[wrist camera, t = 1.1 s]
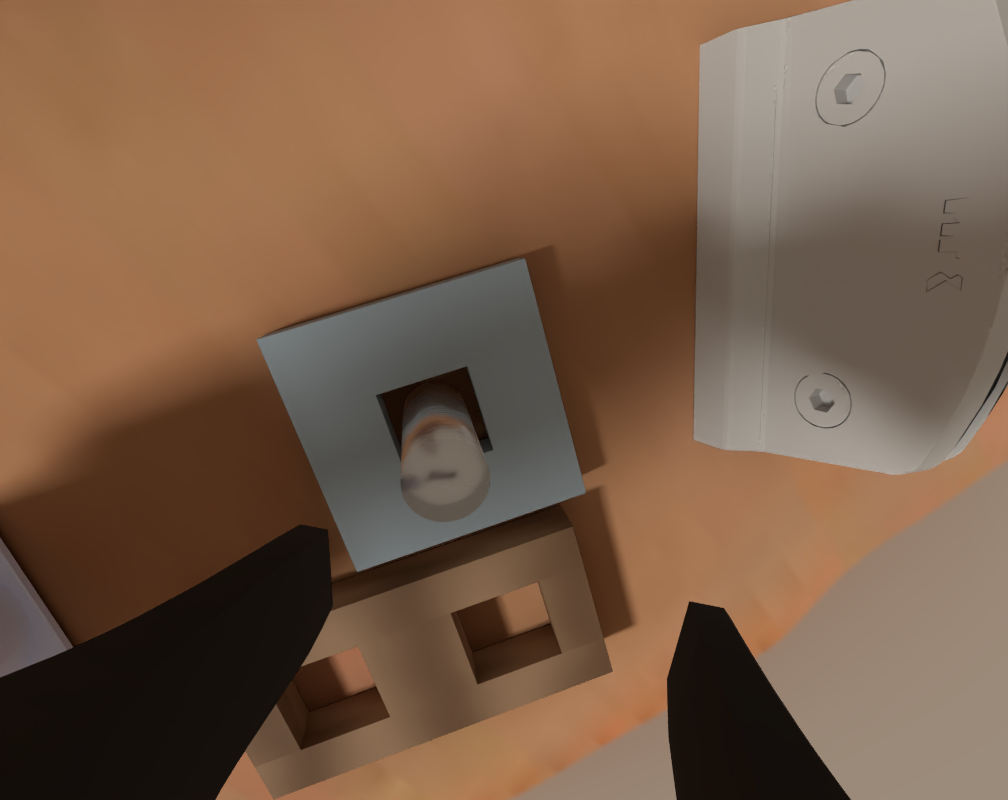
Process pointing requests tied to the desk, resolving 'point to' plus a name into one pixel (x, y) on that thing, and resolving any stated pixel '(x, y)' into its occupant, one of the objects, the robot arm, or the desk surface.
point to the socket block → (412, 358)
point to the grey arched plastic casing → (854, 233)
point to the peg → (441, 455)
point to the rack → (437, 651)
